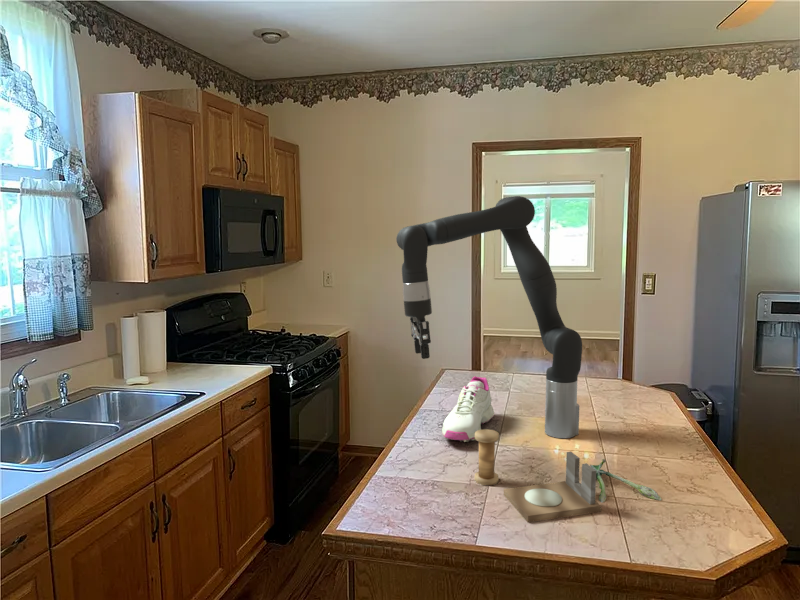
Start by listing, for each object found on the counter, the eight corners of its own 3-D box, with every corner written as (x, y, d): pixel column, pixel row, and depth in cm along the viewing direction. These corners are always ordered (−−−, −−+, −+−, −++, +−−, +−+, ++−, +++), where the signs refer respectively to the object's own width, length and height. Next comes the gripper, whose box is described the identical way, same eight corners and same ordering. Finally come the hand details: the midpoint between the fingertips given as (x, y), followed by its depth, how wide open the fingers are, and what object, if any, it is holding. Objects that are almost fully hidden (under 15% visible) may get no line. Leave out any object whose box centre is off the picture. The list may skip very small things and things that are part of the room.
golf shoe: (432, 447, 168) (432, 397, 166) (460, 411, 199) (461, 369, 197) (474, 453, 164) (474, 402, 162) (496, 415, 194) (497, 372, 192)
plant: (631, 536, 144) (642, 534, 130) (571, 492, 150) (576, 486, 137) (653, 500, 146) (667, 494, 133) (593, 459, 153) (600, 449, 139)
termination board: (571, 486, 143) (572, 449, 142) (600, 511, 130) (602, 472, 129) (503, 495, 139) (504, 457, 137) (527, 522, 126) (528, 481, 125)
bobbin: (492, 473, 150) (493, 428, 149) (502, 484, 145) (502, 436, 143) (471, 476, 149) (471, 430, 147) (479, 486, 143) (480, 439, 141)
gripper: (436, 298, 153) (441, 358, 155) (424, 294, 167) (429, 349, 169) (408, 301, 152) (414, 362, 153) (399, 297, 166) (404, 353, 167)
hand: (422, 355), depth 161 cm, fingers open, 8 cm apart
